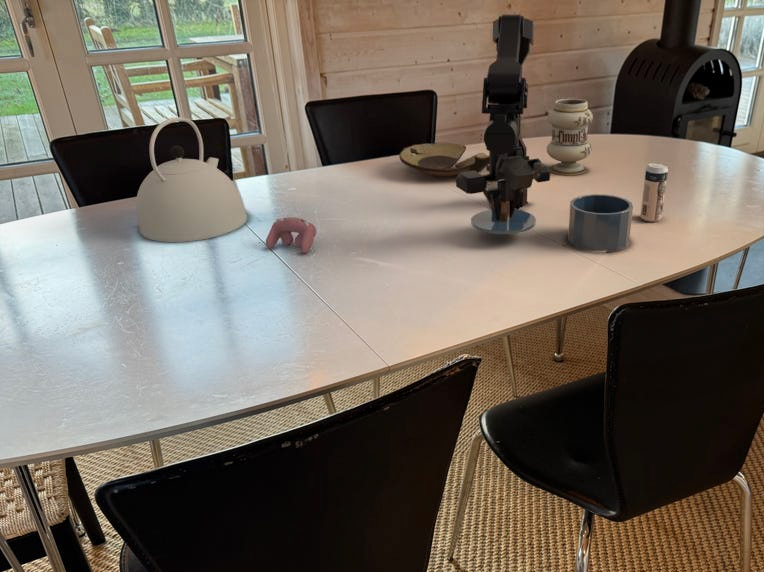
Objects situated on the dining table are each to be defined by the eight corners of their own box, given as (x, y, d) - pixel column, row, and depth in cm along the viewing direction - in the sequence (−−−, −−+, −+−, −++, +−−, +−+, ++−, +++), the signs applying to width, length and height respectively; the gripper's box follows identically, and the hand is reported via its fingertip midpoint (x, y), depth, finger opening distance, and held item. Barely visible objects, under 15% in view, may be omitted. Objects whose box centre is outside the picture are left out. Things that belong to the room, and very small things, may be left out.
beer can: (661, 223, 147) (669, 169, 140) (639, 222, 148) (646, 167, 141) (661, 216, 151) (668, 162, 144) (639, 214, 152) (646, 161, 145)
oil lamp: (454, 156, 196) (453, 129, 192) (511, 180, 175) (512, 151, 171) (385, 168, 186) (383, 140, 182) (437, 195, 165) (436, 164, 161)
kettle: (184, 201, 163) (160, 104, 151) (269, 206, 159) (251, 107, 147) (117, 238, 142) (83, 129, 131) (213, 245, 138) (187, 133, 127)
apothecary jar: (546, 163, 188) (549, 96, 179) (589, 164, 187) (595, 97, 178) (544, 175, 178) (547, 105, 169) (589, 177, 177) (595, 106, 167)
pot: (558, 246, 136) (560, 208, 132) (580, 227, 145) (583, 191, 141) (617, 257, 131) (621, 218, 127) (635, 236, 140) (640, 199, 136)
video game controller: (317, 255, 137) (320, 221, 136) (304, 253, 133) (308, 218, 132) (276, 249, 140) (279, 216, 139) (262, 247, 136) (266, 213, 135)
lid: (459, 230, 135) (458, 205, 133) (489, 210, 145) (489, 187, 143) (518, 241, 130) (519, 215, 127) (546, 220, 140) (547, 195, 137)
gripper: (479, 156, 119) (480, 239, 127) (567, 144, 126) (562, 222, 134) (453, 143, 128) (456, 221, 136) (537, 132, 135) (534, 206, 143)
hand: (503, 218), depth 137 cm, fingers closed on lid, 3 cm apart
